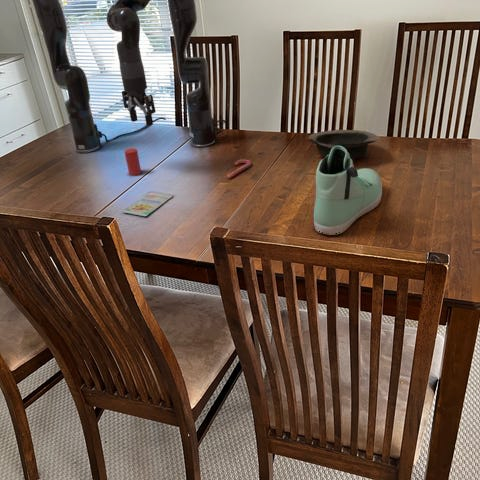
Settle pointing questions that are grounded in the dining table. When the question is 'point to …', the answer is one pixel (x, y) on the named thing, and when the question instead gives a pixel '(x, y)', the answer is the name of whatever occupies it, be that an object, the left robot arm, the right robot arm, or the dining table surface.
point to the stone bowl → (343, 141)
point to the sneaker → (343, 192)
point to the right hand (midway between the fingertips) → (142, 123)
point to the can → (133, 161)
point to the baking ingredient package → (147, 204)
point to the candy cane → (240, 167)
